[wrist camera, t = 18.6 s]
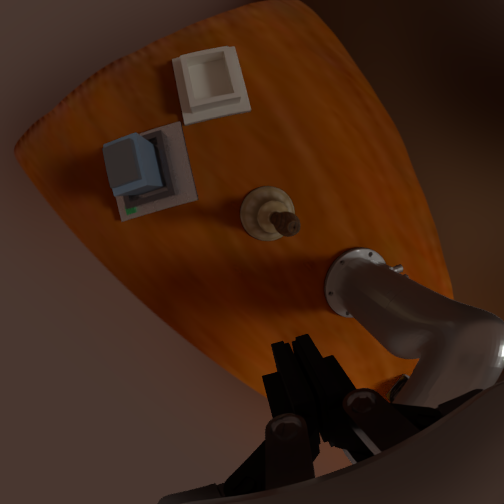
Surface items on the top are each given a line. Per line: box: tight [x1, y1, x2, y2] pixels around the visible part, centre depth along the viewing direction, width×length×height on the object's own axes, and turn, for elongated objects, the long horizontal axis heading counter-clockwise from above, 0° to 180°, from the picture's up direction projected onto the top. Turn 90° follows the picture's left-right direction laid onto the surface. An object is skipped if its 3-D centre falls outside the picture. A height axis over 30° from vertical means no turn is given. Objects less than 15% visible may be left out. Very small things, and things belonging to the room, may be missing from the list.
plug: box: [102, 132, 167, 196], centre depth 30 cm, size 4×6×12 cm, turn 14°
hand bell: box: [240, 186, 300, 241], centre depth 33 cm, size 8×8×16 cm
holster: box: [172, 46, 251, 126], centre depth 34 cm, size 10×12×4 cm
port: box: [115, 121, 199, 222], centre depth 35 cm, size 12×12×5 cm
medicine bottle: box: [386, 374, 410, 403], centre depth 48 cm, size 7×7×12 cm
